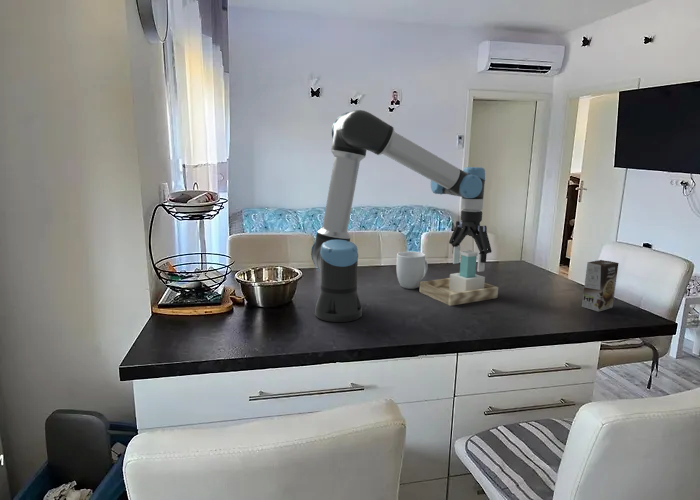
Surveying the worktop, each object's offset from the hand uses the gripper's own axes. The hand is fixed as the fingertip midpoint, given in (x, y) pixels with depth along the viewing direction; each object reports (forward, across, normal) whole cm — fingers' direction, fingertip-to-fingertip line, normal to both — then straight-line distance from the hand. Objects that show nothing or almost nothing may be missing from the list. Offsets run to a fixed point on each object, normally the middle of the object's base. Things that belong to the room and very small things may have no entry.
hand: (467, 267), depth 176 cm
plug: (+6, 0, 0) cm, 6 cm away
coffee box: (+10, -32, -31) cm, 46 cm away
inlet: (+9, 0, 0) cm, 9 cm away
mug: (+10, +17, +13) cm, 24 cm away
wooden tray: (+10, 0, +4) cm, 11 cm away
